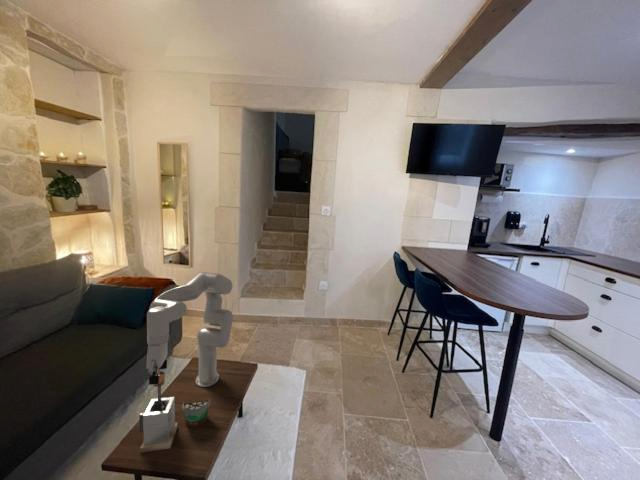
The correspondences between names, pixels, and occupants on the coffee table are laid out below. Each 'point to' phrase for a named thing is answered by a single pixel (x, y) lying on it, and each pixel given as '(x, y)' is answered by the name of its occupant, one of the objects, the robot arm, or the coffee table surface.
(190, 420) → the food container
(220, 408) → the coffee table surface
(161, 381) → the plunger
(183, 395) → the coffee table surface
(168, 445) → the base
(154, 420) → the press sleeve
